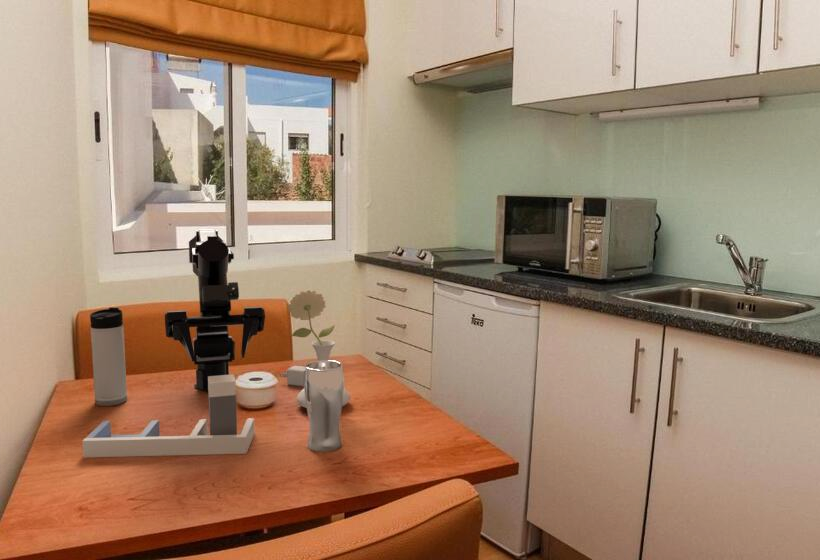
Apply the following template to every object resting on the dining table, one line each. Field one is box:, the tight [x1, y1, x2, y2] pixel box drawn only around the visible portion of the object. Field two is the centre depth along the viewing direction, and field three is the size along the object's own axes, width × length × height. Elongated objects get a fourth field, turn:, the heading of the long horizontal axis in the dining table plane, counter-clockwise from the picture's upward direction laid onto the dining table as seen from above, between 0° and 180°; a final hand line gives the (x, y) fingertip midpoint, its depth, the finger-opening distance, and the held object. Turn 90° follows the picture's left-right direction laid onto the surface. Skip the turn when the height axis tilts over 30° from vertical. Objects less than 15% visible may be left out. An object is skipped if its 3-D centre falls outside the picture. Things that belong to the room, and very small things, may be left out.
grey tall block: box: [208, 373, 238, 435], centre depth 114 cm, size 4×4×12 cm
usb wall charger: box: [279, 365, 306, 388], centre depth 150 cm, size 4×7×4 cm, turn 69°
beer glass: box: [303, 359, 345, 453], centre depth 113 cm, size 7×7×15 cm
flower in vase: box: [287, 290, 351, 409], centre depth 133 cm, size 13×11×25 cm
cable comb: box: [82, 417, 256, 459], centre depth 113 cm, size 27×9×3 cm, turn 95°
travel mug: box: [89, 307, 128, 407], centre depth 134 cm, size 6×7×20 cm
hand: (218, 358), depth 120 cm, fingers open, 9 cm apart
